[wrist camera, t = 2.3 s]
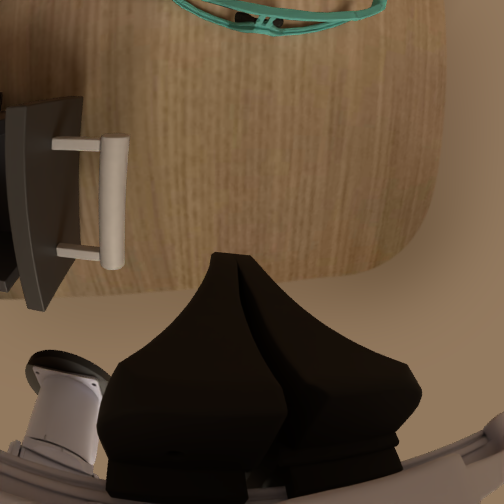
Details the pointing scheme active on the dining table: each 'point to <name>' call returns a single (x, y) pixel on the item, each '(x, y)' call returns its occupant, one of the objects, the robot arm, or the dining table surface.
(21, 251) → the drawer
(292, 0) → the dining table surface
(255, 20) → the sunglasses
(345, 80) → the dining table surface
